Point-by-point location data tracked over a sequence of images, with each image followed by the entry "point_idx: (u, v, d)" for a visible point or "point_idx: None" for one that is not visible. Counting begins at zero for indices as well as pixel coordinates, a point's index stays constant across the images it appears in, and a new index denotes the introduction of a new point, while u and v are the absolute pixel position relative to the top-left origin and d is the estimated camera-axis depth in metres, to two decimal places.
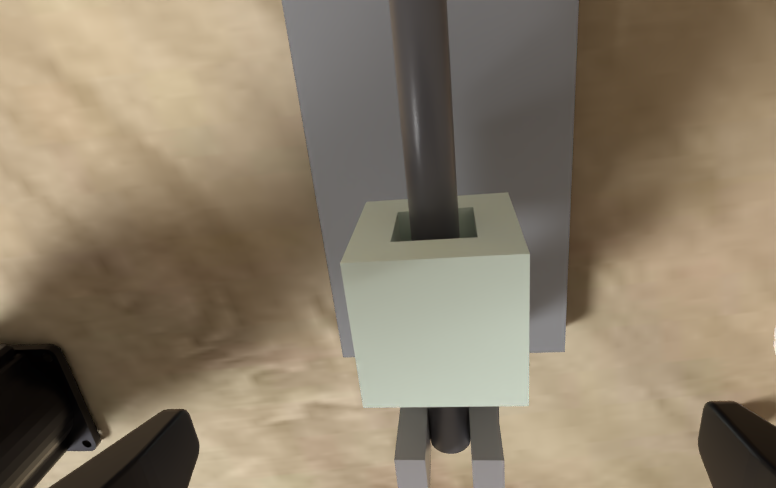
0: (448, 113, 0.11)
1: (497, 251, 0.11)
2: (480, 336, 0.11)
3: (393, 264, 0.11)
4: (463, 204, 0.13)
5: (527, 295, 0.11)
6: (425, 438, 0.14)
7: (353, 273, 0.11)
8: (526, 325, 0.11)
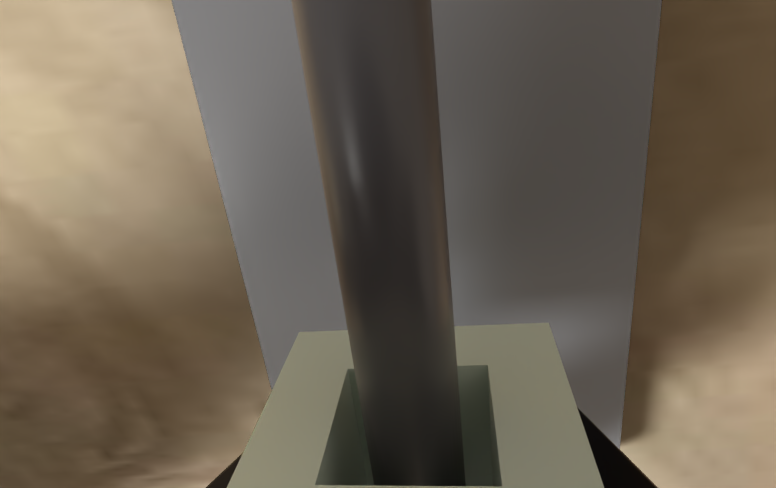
0: (435, 224, 0.05)
1: None
2: None
3: None
4: (468, 353, 0.07)
5: None
6: None
7: None
8: None
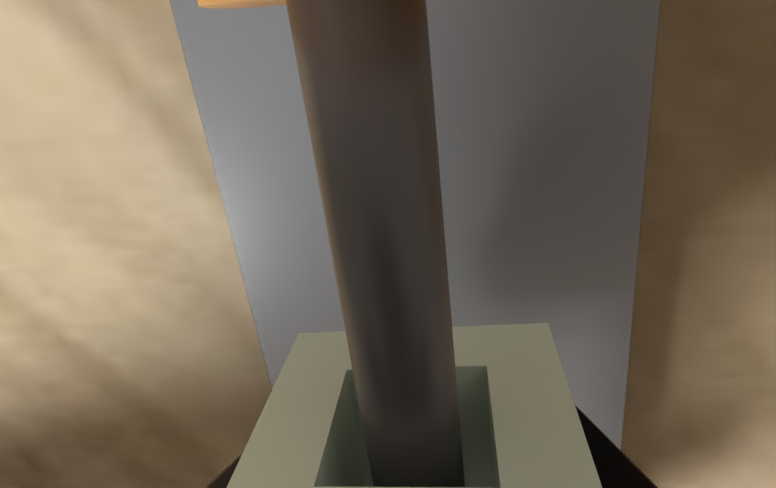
0: None
1: None
2: None
3: None
4: (467, 354, 0.07)
5: None
6: None
7: None
8: None
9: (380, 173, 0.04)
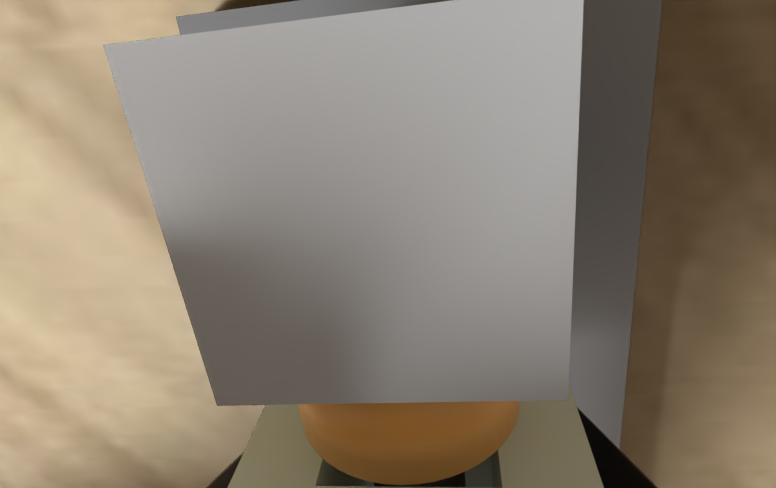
0: None
1: None
2: None
3: None
4: None
5: None
6: None
7: None
8: None
9: None
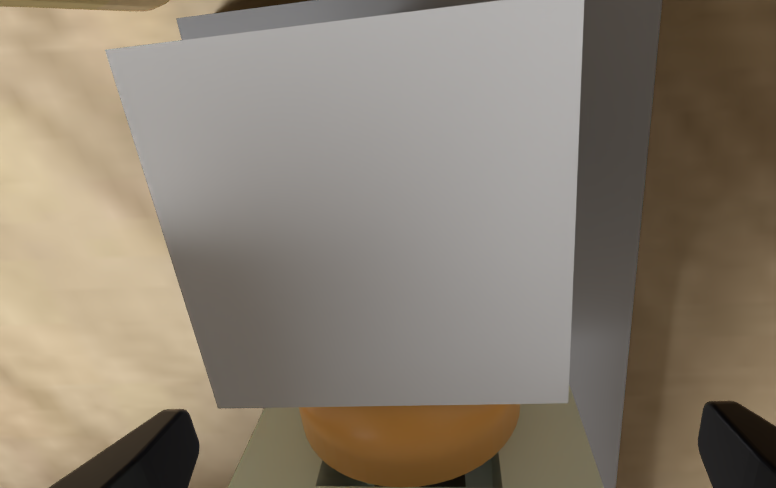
0: None
1: None
2: None
3: None
4: None
5: None
6: None
7: None
8: None
9: None
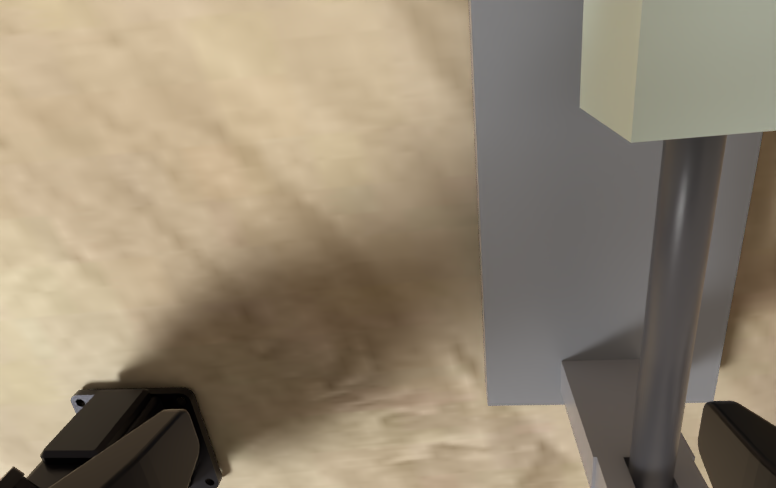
0: (714, 214, 0.11)
1: None
2: None
3: None
4: None
5: None
6: None
7: None
8: None
9: None
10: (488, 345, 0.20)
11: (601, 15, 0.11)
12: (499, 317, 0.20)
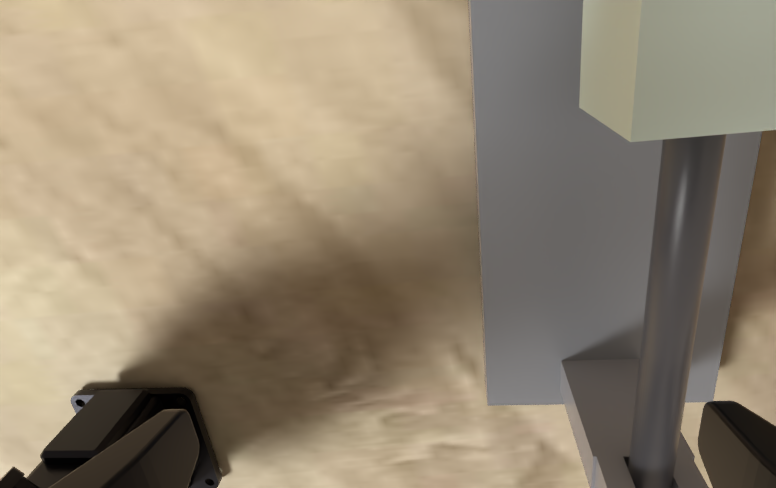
0: (714, 214, 0.11)
1: None
2: None
3: None
4: None
5: None
6: None
7: None
8: None
9: None
10: (488, 345, 0.20)
11: (601, 15, 0.11)
12: (499, 317, 0.20)
